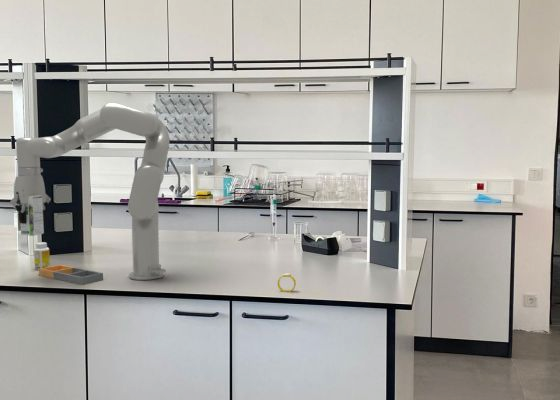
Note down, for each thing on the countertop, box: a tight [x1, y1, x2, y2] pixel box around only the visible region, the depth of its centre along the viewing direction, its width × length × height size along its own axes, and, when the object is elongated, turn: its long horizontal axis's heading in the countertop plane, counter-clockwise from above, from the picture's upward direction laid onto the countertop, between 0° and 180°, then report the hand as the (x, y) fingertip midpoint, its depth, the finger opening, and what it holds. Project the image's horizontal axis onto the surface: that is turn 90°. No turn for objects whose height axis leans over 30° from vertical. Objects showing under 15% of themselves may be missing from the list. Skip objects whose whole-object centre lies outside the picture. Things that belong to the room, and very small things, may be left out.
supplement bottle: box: [33, 241, 51, 271], centre depth 243 cm, size 6×6×10 cm
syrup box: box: [20, 195, 45, 237], centre depth 222 cm, size 6×6×14 cm
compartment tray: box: [38, 264, 104, 285], centre depth 228 cm, size 26×9×2 cm, turn 54°
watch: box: [277, 272, 297, 293], centre depth 207 cm, size 6×3×6 cm, turn 79°
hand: (31, 221), depth 223 cm, fingers closed on syrup box, 6 cm apart
